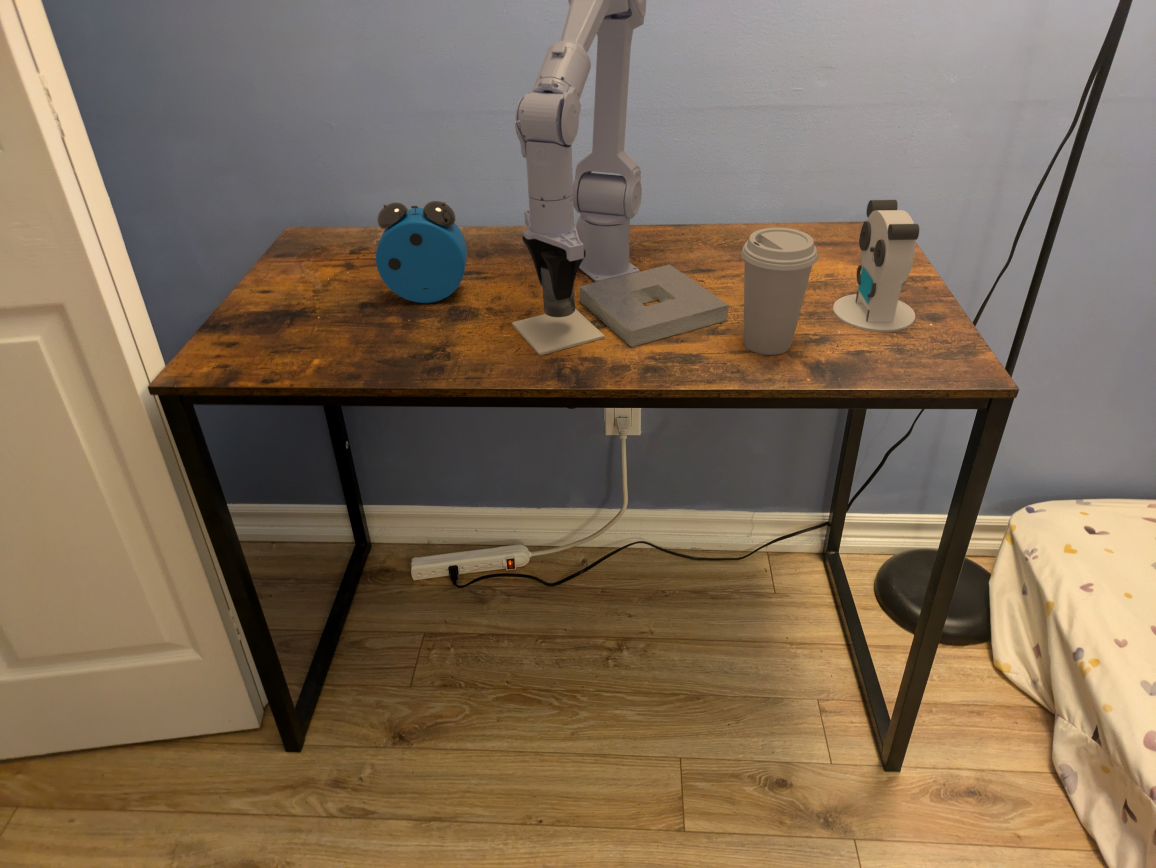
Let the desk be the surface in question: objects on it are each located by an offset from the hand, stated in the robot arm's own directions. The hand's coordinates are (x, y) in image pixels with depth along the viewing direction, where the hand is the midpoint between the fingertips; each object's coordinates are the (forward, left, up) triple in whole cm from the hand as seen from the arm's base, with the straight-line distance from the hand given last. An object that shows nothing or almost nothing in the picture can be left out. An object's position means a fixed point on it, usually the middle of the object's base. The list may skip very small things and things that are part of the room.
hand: (555, 290), depth 106 cm
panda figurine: (+17, +43, -7) cm, 47 cm away
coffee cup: (+17, +24, -7) cm, 30 cm away
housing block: (+1, +15, -6) cm, 16 cm away
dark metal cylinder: (0, +1, -3) cm, 3 cm away
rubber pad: (0, 0, -6) cm, 6 cm away
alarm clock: (-20, -13, -7) cm, 25 cm away
